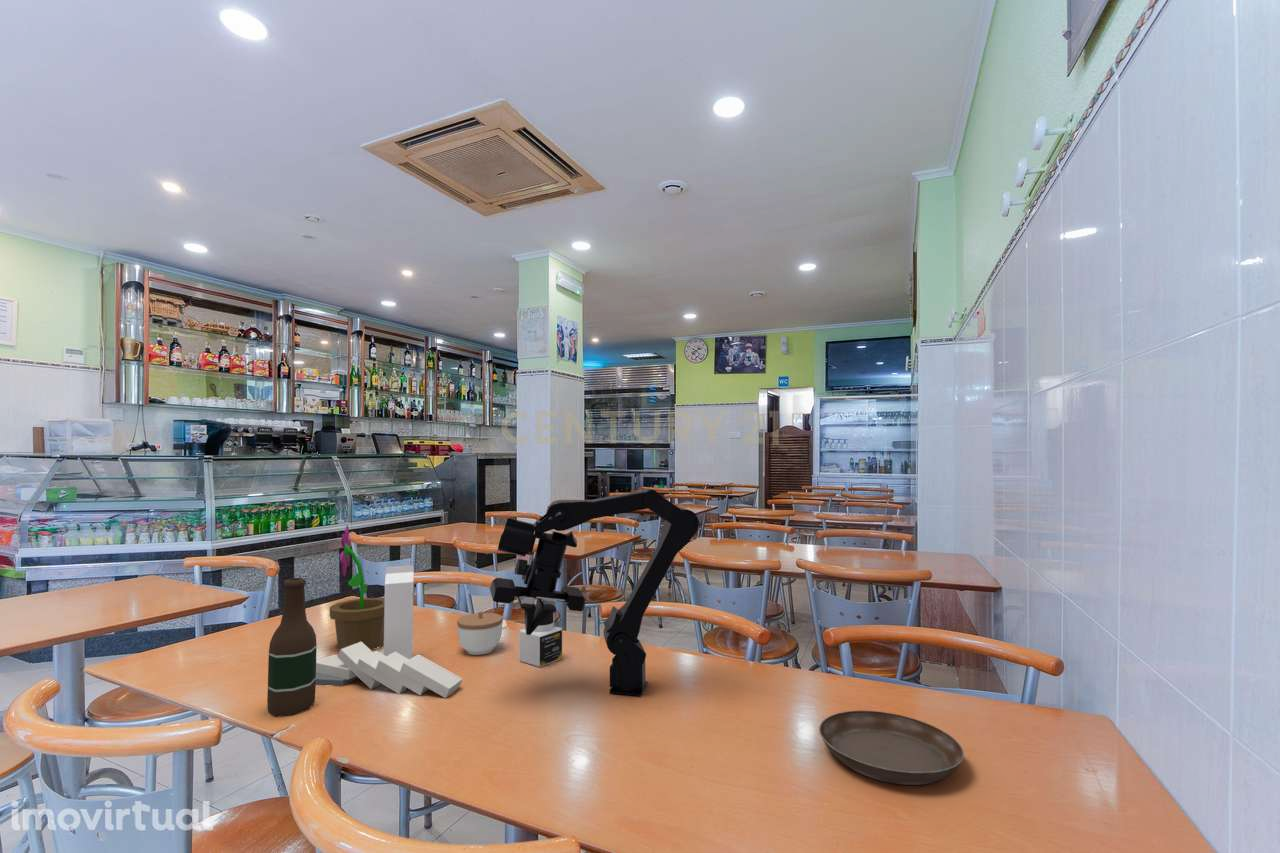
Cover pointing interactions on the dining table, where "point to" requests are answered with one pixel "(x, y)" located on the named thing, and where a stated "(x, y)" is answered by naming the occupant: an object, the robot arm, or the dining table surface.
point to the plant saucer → (891, 747)
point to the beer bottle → (292, 656)
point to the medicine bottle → (541, 644)
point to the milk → (399, 611)
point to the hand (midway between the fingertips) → (527, 633)
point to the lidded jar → (479, 632)
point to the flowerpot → (357, 609)
